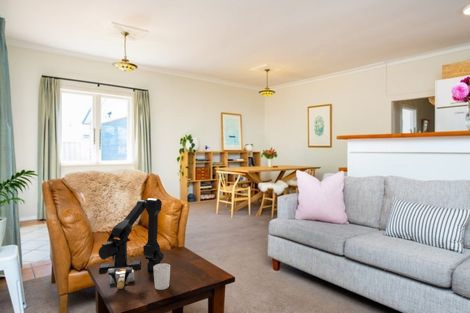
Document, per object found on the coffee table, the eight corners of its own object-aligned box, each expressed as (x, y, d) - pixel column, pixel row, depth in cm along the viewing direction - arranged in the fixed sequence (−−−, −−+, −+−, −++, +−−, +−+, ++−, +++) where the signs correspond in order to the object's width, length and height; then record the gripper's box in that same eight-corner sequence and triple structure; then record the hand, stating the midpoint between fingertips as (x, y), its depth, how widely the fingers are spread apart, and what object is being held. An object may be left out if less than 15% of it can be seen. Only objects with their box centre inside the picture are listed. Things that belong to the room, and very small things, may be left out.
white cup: (155, 283, 150) (155, 263, 150) (171, 282, 151) (171, 263, 150) (152, 290, 142) (152, 270, 142) (169, 290, 143) (169, 269, 142)
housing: (134, 275, 158) (134, 267, 158) (133, 281, 152) (133, 271, 152) (111, 278, 155) (111, 269, 155) (109, 283, 149) (109, 274, 149)
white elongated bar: (119, 275, 157) (119, 269, 157) (126, 275, 158) (126, 269, 158) (116, 289, 142) (116, 282, 142) (124, 288, 143) (124, 281, 143)
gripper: (141, 245, 154) (141, 275, 154) (101, 248, 149) (101, 279, 149) (141, 252, 143) (141, 285, 144) (98, 256, 138) (98, 290, 138)
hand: (120, 284), depth 144 cm, fingers closed on white elongated bar, 3 cm apart
